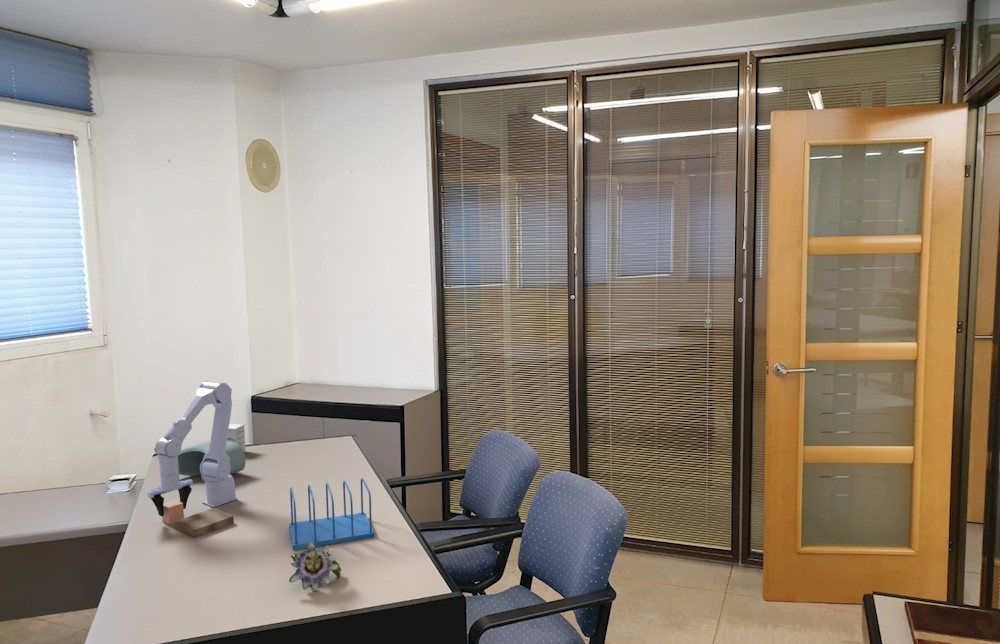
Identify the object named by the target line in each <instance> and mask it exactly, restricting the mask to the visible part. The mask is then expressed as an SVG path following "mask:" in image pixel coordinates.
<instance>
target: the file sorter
mask: <svg viewBox="0 0 1000 644" xmlns="http://www.w3.org/2000/svg"><path fill="white" fill-rule="evenodd" d="M367 484H368V483H366V481H365V479H364V477H362V478H360V508H361V510H360V511H361V512H359V513H357V512H356V513H354V511H353V509H354V507H353V497H352V491H351V489H350V487H349V485H348V483H347V481H346V480H345V479H344V480H343V481H342V492H343V494H342V495H343V513H344V515H337V516H335V502H334V497H333V492H332V489H331V486H330V484H329V482H326V483H325V497H326V503H325V505H326V517H323V518H318V519H316V507H315V506H316V505H315V504H316V502H315V497H314V494H313V490H312V487H311V485H310V484H308V485H307V498H308V520H304V521H297V509H296V508H297V506H296V500H295V494H294V490H293V487H292V486H291V487H289V490H290V491H289V495H290V496H289V497H290V516H291V517H290V519H291V522H290V523H288V529H289V535H290V541H291V545H292V550H293V551H296V550H306V549H307V547H308V545H309V543H310V542H311V543H313V544H314V546H315V547H316V548H317V547H321V546H323V547H324V546H329V545H333V544H334V545H335V544H340V543H342V544H343V543H346V542H353V541H354V542H355V541H359V540H366V539H367V540H368V539H373V538H375V531H374V529H373V525H372V523H373V522H372V521H373V520H372V494H371V491H370V488H369V486H368V485H367ZM363 485H364V486H365V489H366V491H367V493H368V500H369V502H368V504H369V505H368V506H369V509H368V511H369V515H368V516H369V518H368V516H367V514H366V512H365V511H364V495H363V491H364V490H363ZM346 490H347V491H348V494H349V500H350V514H347V506H346V505H347V503H346V501H347V500H346ZM329 494H330V498H331V512H332V513H331V515H332V516H330V515H329ZM311 501H312V511H313V512H312V513H313V515H312V513H311ZM311 515H312V516H311ZM329 516H330V517H329ZM312 517H313V518H312Z"/></svg>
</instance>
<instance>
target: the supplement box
mask: <svg viewBox="0 0 1000 644" xmlns="http://www.w3.org/2000/svg"><path fill="white" fill-rule="evenodd" d="M245 433H246V432H245V424H237V423H235V424H234V423H229V430H228V437H227V441H231V442H235V443H237V444H239V445H240V446H241V447H242V449H243V451H244V453H246V436H245Z"/></svg>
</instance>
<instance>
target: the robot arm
mask: <svg viewBox="0 0 1000 644" xmlns="http://www.w3.org/2000/svg"><path fill="white" fill-rule="evenodd" d="M232 391H233V389H232V388H231V387H230V385H228V384H227V383H225V382H215V381H211V380H204V381H203V382H201V383H200V385H199V387H198V388H197V389H196V393H195V396H194V398H193V400H192V402H191V403H190V405H189V407H188V408H187V409H186V410H185V413H184V415H183V416H182V417H181V418H177V419H176V420H174V421H173V422H172V426H171V427H170V429H169V430H168V431H167V433H166V434H164V437H162V438H160V439H159V440H158V441H157V442H156V443H155V447H154V448H153V450H154V453H155V454H156V455H157V457H158V458H157V459H158V461H159V473H160V474H159V475H160V486H159V487H156V488H154V489H151V490H148V491H147V497H148V498H149V499H150V500H151V501H152V502H153V504H154V506H155V508H156V510H157V513H158V516H160V517H162V516H164V508H163V504H164V502H165V497H163V494H167V493H171V492H174V491H178V495H179V502H182V503H183V510H186V508H187V503H188V499H189V497H190V495H191V493H192V491H193V489H192V487H193V486H194V484H193V483H194V482H193V481H194V480H193V479H190V478H189V479H185V480H181V479H180V475H179V466H178V453H179V452H180V451H181V450H182V445H183V442H184V440H185V439H186V437H187V436H188V435H189V433H190V432H191V430H193V429H192V428H193V426H192V423H193V421H194V420H195V419H197V417H198V415H199V414H200V413H201V412H202V411H203V409H204V408H205V406H208V405H212V406H213V407H214V415H213V422H212V429H211V435H210V441H211V442H210V449H209V452H207V453H206V454H205V455H204V458H203V461H202V463H201V465H200V472H201V474H202V475H204V478H205V482H204V483H205V493H206V494H205V495H206V499H204V500H201V503H202V504H205V505H207V506H209V507H211V508H216V507H218V506H221V505H223V504H227V503H229V502H233V501H236V500H237V499H238V498H237V497H236V496H237V495H236V483H235V482H236V481H235V479H234V477H233V475H232V474H231V475H230V471H231V466H230V458H229V456H228V455H227V454H226V452H225V451H226V444H227V437H228V430H229V424H231V423H230V421H231V414H232V408H233V407H232V406H233V401H232Z"/></svg>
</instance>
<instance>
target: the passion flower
mask: <svg viewBox="0 0 1000 644" xmlns="http://www.w3.org/2000/svg"><path fill="white" fill-rule="evenodd" d="M329 550H330V546H329V545H325V546H323V547H322V548H321V549H317V547H315V546H314V544H313V543H311V542H310V543H309V545H308V547H307V548H305V549H304V550H303V552H297V551H296V552H294V553H293V554H294V556H293V554H291V555H290V558H291V559H292V560H293V561H292V562H291V563H290V565H291V566H292V567H295V572H294V573H293V574H292V575H291V576H290V577H289V579H288V581H289V582H290V583H295V582H297V581H298V580H301V584H302V585H301V586H302V588H303V590H306V589H307V588H309V587H310V588H311V591H312V592H313V593H315V592H316V591H317V590H318V587H319V584H320V582H322V583H323V584H326V585H329V584H330V572H332V573H333V574H334V575H335V577H336V578H337V579H339V578H340V577H341V575H342V572H341V571H342V568H341V566H340V563H338V561H337V560H336V555H333V554H330V552H329Z"/></svg>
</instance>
